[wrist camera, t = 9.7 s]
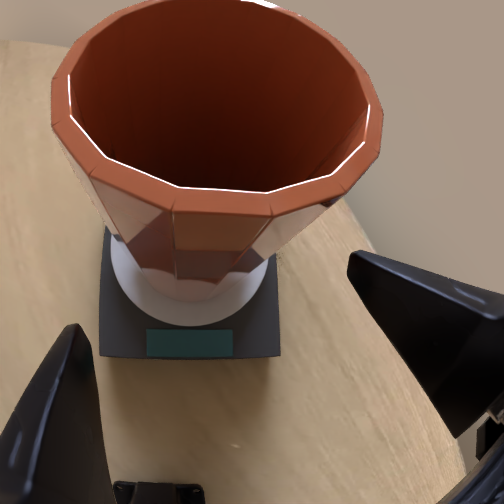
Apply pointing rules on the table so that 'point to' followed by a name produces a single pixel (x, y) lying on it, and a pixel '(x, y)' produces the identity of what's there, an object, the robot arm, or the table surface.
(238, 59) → the tumbler
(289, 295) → the table surface
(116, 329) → the scale
